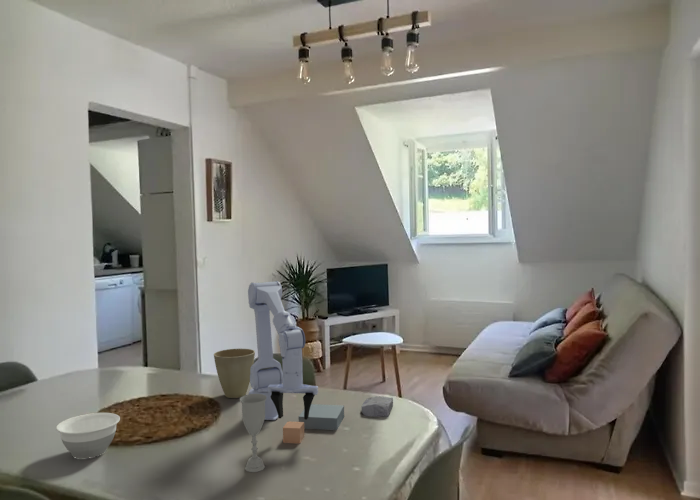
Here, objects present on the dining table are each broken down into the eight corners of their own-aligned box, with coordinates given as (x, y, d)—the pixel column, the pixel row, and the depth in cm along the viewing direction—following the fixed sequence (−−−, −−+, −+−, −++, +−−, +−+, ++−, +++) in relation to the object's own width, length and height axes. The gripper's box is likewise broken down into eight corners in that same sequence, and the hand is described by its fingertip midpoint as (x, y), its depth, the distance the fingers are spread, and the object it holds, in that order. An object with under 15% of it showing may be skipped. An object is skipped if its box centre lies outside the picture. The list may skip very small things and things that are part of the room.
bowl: (78, 470, 137) (77, 437, 137) (45, 457, 146) (43, 426, 146) (133, 448, 151) (132, 418, 151) (99, 437, 159) (98, 408, 159)
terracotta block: (283, 443, 153) (282, 427, 153) (288, 436, 158) (287, 421, 158) (300, 444, 152) (299, 428, 152) (304, 437, 157) (304, 422, 157)
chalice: (243, 462, 141) (241, 394, 140) (269, 460, 141) (267, 393, 140) (239, 474, 133) (238, 403, 133) (267, 473, 134) (265, 402, 133)
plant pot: (264, 392, 200) (263, 350, 200) (235, 404, 188) (234, 359, 187) (235, 387, 208) (234, 346, 208) (206, 397, 196) (204, 354, 195)
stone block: (361, 421, 174) (390, 417, 172) (358, 407, 174) (387, 402, 172) (367, 410, 186) (395, 406, 184) (364, 397, 186) (392, 392, 184)
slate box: (298, 429, 164) (298, 416, 164) (308, 415, 176) (308, 403, 176) (337, 431, 162) (336, 418, 162) (344, 417, 174) (344, 405, 174)
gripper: (263, 374, 152) (265, 421, 152) (313, 375, 149) (314, 423, 150) (271, 367, 159) (272, 413, 159) (319, 369, 156) (320, 415, 157)
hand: (293, 417), depth 155 cm, fingers open, 7 cm apart
